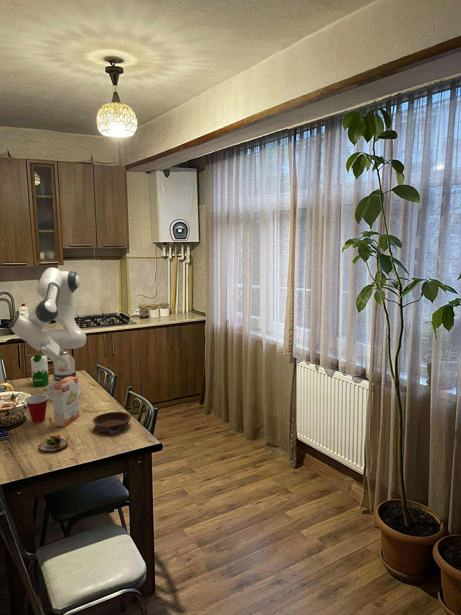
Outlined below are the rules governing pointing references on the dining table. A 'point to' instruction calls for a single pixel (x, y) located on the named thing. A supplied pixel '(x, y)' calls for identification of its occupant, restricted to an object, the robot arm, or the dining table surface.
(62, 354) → the tea canister
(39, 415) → the plastic cup
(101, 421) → the dish
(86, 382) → the dining table surface
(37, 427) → the dining table surface
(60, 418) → the cracker box
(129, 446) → the dining table surface
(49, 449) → the burger
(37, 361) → the milk carton
